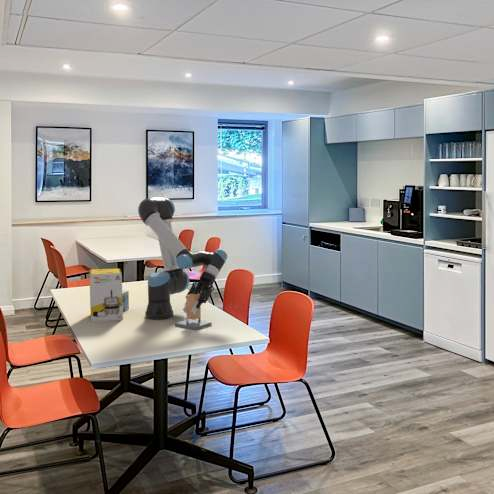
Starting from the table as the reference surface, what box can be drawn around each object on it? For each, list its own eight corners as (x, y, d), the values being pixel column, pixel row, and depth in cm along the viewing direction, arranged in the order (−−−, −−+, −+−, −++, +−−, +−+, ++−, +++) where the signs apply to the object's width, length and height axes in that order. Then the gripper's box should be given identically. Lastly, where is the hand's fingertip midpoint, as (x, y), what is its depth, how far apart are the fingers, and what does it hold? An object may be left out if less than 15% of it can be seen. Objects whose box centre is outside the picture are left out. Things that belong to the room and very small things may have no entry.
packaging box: (91, 321, 316) (89, 274, 313) (90, 314, 331) (89, 269, 328) (122, 319, 320) (121, 273, 317) (120, 312, 336) (119, 268, 333)
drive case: (186, 318, 306) (186, 295, 305) (193, 316, 310) (192, 293, 309) (194, 319, 304) (193, 296, 302) (200, 317, 307) (200, 294, 306)
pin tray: (175, 325, 307) (175, 316, 306) (191, 321, 316) (190, 311, 316) (196, 330, 299) (196, 320, 298) (211, 325, 308) (211, 315, 308)
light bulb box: (121, 313, 335) (121, 293, 334) (110, 312, 337) (110, 293, 336) (129, 308, 346) (128, 290, 345) (118, 308, 347) (117, 289, 346)
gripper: (226, 281, 312) (205, 318, 301) (199, 278, 323) (179, 314, 311) (219, 272, 307) (198, 310, 296) (192, 269, 318) (171, 305, 306)
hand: (188, 312), depth 304 cm, fingers closed on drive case, 5 cm apart
